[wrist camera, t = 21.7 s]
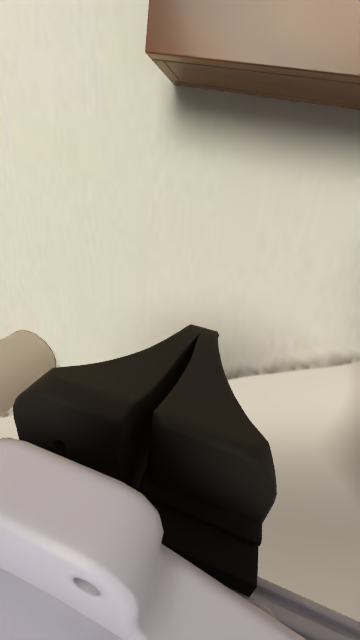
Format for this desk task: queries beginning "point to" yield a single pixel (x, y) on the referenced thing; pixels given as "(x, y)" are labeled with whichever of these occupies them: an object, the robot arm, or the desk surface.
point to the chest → (263, 84)
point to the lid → (260, 35)
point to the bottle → (21, 365)
